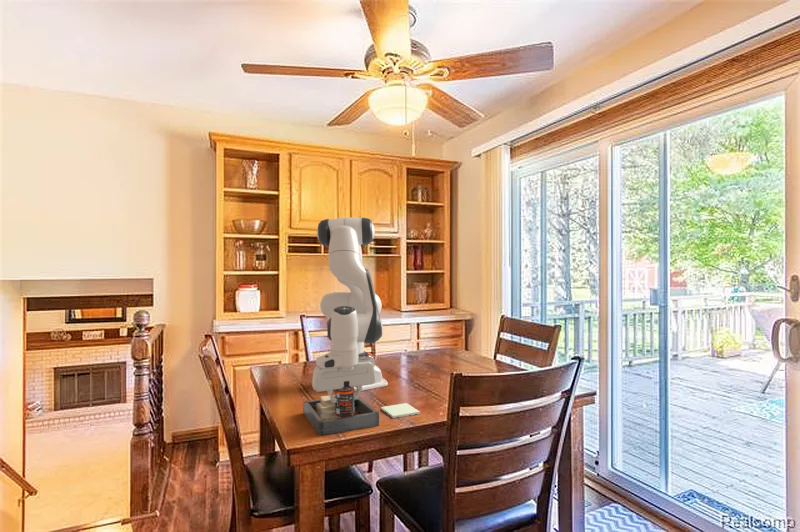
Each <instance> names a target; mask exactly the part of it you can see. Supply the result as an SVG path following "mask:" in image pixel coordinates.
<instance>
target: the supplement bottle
mask: <svg viewBox="0 0 800 532" xmlns="http://www.w3.org/2000/svg"><path fill="white" fill-rule="evenodd" d="M334 392H335V394H334V395H335V397H336V398H337V400H336V401H337V403H335V414H336V415H337V416H338V417H337V418H341V417H347V416H353V415H355V414H354V408H355V407H354V393H355V391H354V387H351V386H349V381H344V387H343V388H341V389H336V390H335V391H334Z"/></svg>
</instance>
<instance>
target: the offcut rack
mask: <svg viewBox="0 0 800 532" xmlns="http://www.w3.org/2000/svg"><path fill="white" fill-rule="evenodd" d="M302 403H303V405H302V406H303V408H302V409H303V411H302V413H303V415H304V417H306V419H307V421H308V422H309V423H310V424H311V426H312V428H313V429H314V430H315V432H316V433H317V434H318V436H319V437H321V436H328V435H333V434H338V433H344V432H348V431H349V430H350V431H355V429H356V430H360V428H362V429H366V428H373V427H378V425H379V426H380V413H379V411H377V409H375V408H374V407H372V406H371V405H370V404H369V403H367V402H366V400H364V399H363V398H361V397H360V396H359V399H358V400H354V408H355V410H357V411H358V412H359V413H360V414H353V415H352V416H347V417H334V418H328V419H321V418H320V417H319V415H318V414H317V413H316V403H320V399H314V400H307V401H306V400H305V401H303V402H302Z"/></svg>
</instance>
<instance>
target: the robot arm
mask: <svg viewBox="0 0 800 532" xmlns="http://www.w3.org/2000/svg"><path fill="white" fill-rule="evenodd" d="M317 224H318V225H317V228H316V235H317V236H316V237H317V239H318V242H319V243H320V244H321V245H322V246H324V247H327V248H328V267H329V271H330V273H331V274H332V276H333V277H336V279H337V281H338V282H339V283H340V284H342V285H344V286H346V287H347V288H348V290H349V291H350V292H347V291H346V292H340V291H339V292H338V291H336V292H330V293H325V294H324V295H323V296H322V298H321V300H320V303H319V304H320V305H319V306H320V307H319V308H320V311H321V313H322V315H323V316H324V317H326V318H327V319H328V320H327V321H326V326H327V327H326V328H327V334H326V335H327V336H326V337H327V338H328V339H329V340H330V341H331V346H330V351H329V352H328V353H325V354H323V355H321V356H318V357H316V358H315V363H316V366H315V367H314V368H313V371H312V372H313V373H312V381H311V382H312V383H311V385H312V389H313V390H314V391H315V392H316V393H319V392H327V394H328V396H330V397H331V403H332V404H334V403H337V401H336V400H337V398H336V397H335V396H333V395H334V394H333V393H334V390H336V389H341V388H343V387H344V381H349V386H351V387H354V400H358V399H359V397H360V396H359V395H360V393H361V392H363V391H367V390H372V389H378V388H383V387H386V386H388V383H389V382H388V381H387V380H386V379H385V378H384V377H383V375H382V371H381V368H379V367H378V366H377V365H376V360H375V358H374V357H373V354H372V353H370V352H367V351H366V350H365V344H375V343H377V342H378V341H379V340H380V339H381V338H382V337H383V333H384V326H383V322H382V320H381V316H380V313H381V312H382V306H383V305H382V300H381V298H380V296H378V294H376V293H375V290H374V286H373V285H374V284H373V281H372V276H371V274H370V271H369V269H367V268H366V267H364V265H363V251H362V246H363V248H365V247H366V246H369V244H371V243H372V242H373V241H374V238H375V235H376V230H375V229H376V228H375V225H374V224H373V221H372V220H371V219H370V218H369V217H362V218H361V217H346V216H345V217H339V218H332V219H329V218H327V219H323V220H320V221H319V222H318V223H317ZM361 245H362V246H361Z"/></svg>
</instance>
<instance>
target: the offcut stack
mask: <svg viewBox="0 0 800 532" xmlns="http://www.w3.org/2000/svg"><path fill="white" fill-rule="evenodd" d="M332 395H333V396H335V394H332ZM319 400H320V403H316V413H317V414H318V415H319V417H320V418H321V419H322V420H328V419H335V418H339V417H338V416H337V415H336V414H335V403H334V404H332V403H331V397H330V396H329V395H322V396H319ZM353 415H356V408H355V407H354V414H353Z"/></svg>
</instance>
